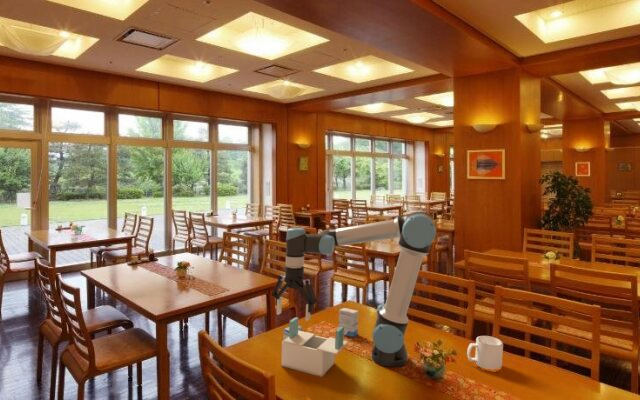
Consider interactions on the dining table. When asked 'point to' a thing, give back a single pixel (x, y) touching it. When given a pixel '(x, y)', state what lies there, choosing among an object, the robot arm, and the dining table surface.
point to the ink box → (349, 321)
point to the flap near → (334, 343)
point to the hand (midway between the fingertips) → (293, 316)
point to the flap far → (297, 334)
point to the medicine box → (286, 331)
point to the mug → (487, 352)
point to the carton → (307, 357)
